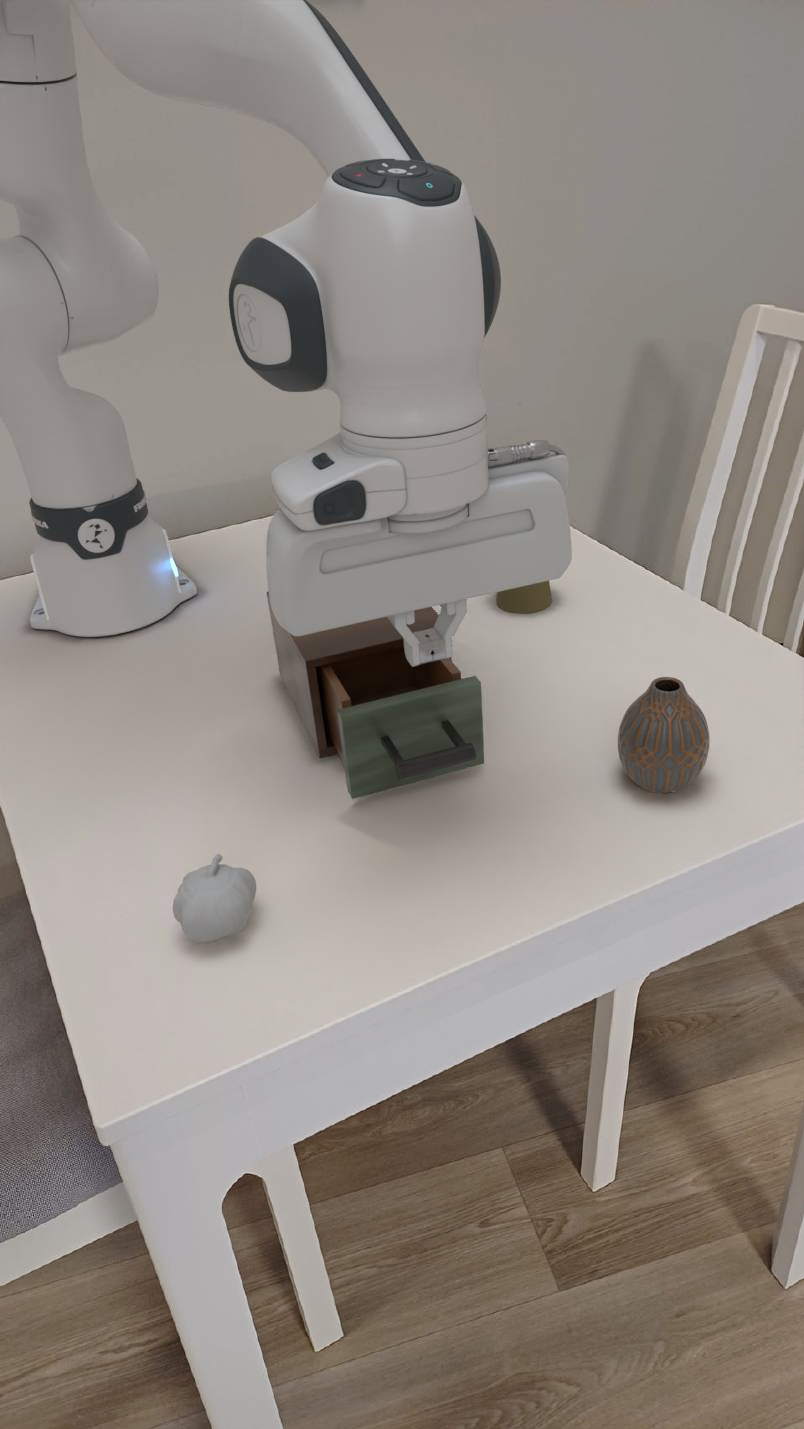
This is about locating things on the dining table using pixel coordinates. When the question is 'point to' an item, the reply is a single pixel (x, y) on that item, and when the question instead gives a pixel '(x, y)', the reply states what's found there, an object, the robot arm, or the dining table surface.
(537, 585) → the olive green pawn
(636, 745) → the vase
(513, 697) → the dining table surface
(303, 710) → the cabinet
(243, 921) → the garlic
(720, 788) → the dining table surface
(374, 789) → the drawer
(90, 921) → the dining table surface
